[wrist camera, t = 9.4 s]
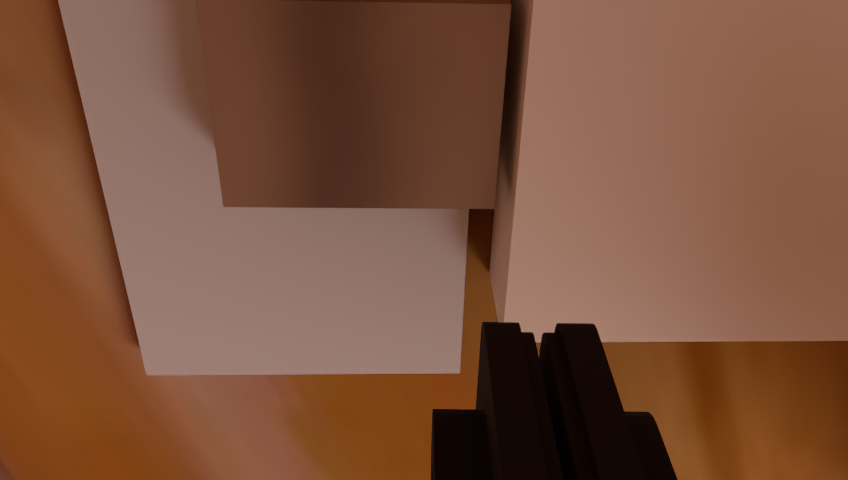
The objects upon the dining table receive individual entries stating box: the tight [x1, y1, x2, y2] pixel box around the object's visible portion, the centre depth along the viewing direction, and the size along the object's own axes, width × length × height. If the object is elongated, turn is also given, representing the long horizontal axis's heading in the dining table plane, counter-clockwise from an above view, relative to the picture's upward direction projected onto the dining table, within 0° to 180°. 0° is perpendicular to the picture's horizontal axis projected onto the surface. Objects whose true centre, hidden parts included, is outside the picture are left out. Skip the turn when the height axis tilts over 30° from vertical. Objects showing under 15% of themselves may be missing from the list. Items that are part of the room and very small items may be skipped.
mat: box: [58, 0, 469, 375], centre depth 24 cm, size 12×18×1 cm, turn 179°
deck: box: [489, 0, 848, 342], centre depth 22 cm, size 18×16×4 cm
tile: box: [196, 0, 511, 209], centre depth 22 cm, size 8×6×2 cm
